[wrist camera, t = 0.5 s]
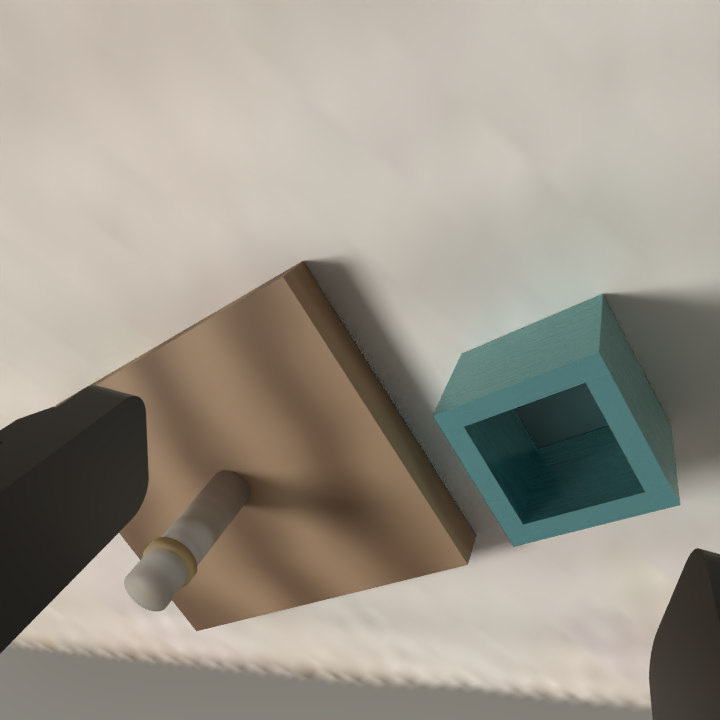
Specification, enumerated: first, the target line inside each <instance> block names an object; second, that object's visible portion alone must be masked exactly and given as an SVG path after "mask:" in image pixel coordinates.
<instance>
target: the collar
mask: <svg viewBox="0 0 720 720" xmlns="http://www.w3.org/2000/svg"><path fill="white" fill-rule="evenodd" d="M583 383H586V385H587V386H588V388H589V390H590V392H591V394H592V396H593V397H594V399H595V401H596V403H597V405H598V407H599V408H600V410H601V412H602V414H603V416H604V418H605V419H606V421H607V423H608V425H609V426H606V427H603V428H600V429H597V430H594V431H591V432H588V433H585V434H582V435H579V436H576V437H572V438H569V439H566V440H563V441H560V442H557V443H554V444H551V445H548V446H545V447H542V448H537V447H536V445H535V443H534V441H533V440H532V438H531V436H530V435H529V433H528V431H527V429H526V428H525V426H524V424H523V423H522V421H521V419H520V417H519V416H518V414H517V412H516V411H515V409H514V408H517V407H520V406H523V405H525V404H528V403H531V402H534V401H536V400H539V399H542V398H545V397H547V396H550V395H553V394H556V393H558V392H561V391H564V390H567V389H569V388H572V387H575V386H578V385H580V384H583ZM433 417H434V419H435V420H436V422H437V423H438V425H439V427H440V428H441V430H442V431H443V433H444V435H445V436H446V438H447V440H448V441H449V443H450V444H451V446H452V448H453V449H454V451H455V453H456V454H457V456H458V457H459V459H460V461H461V462H462V464H463V466H464V467H465V469H466V470H467V472H468V474H469V475H470V477H471V478H472V480H473V482H474V483H475V485H476V487H477V488H478V490H479V491H480V493H481V495H482V496H483V498H484V500H485V501H486V503H487V504H488V506H489V508H490V509H491V511H492V513H493V514H494V516H495V517H496V519H497V521H498V522H499V524H500V525H501V527H502V529H503V530H504V532H505V534H506V535H507V537H508V538H509V540H510V542H511V543H512V545H513V547H514V546H518V545H522V544H526V543H530V542H534V541H538V540H542V539H546V538H550V537H554V536H558V535H562V534H566V533H570V532H574V531H578V530H582V529H586V528H590V527H594V526H598V525H602V524H606V523H610V522H614V521H618V520H622V519H626V518H630V517H634V516H638V515H642V514H646V513H650V512H654V511H658V510H662V509H666V508H670V507H674V506H678V505H680V497H679V489H678V480H677V472H676V464H675V455H674V447H673V438H672V430H671V424H670V422H669V420H668V418H667V417H666V415H665V413H664V411H663V409H662V407H661V405H660V403H659V401H658V399H657V397H656V395H655V393H654V392H653V390H652V388H651V386H650V384H649V382H648V380H647V378H646V376H645V374H644V372H643V370H642V368H641V367H640V365H639V363H638V361H637V359H636V357H635V355H634V353H633V351H632V349H631V347H630V345H629V343H628V341H627V340H626V338H625V336H624V334H623V332H622V330H621V328H620V326H619V324H618V322H617V320H616V318H615V316H614V315H613V313H612V311H611V309H610V307H609V305H608V303H607V301H606V299H605V297H604V295H603V294H601V295H599V296H597V297H594V298H592V299H590V300H587V301H585V302H583V303H580V304H578V305H576V306H573V307H571V308H569V309H566V310H564V311H561V312H559V313H557V314H554V315H552V316H550V317H547V318H545V319H543V320H540V321H538V322H536V323H533V324H531V325H529V326H526V327H524V328H521V329H519V330H517V331H514V332H512V333H510V334H507V335H505V336H503V337H500V338H498V339H496V340H493V341H491V342H489V343H486V344H484V345H482V346H479V347H477V348H474V349H472V350H470V351H467V352H465V353H463V354H461V356H460V358H459V360H458V362H457V365H456V367H455V369H454V371H453V373H452V375H451V377H450V380H449V382H448V384H447V386H446V388H445V390H444V393H443V395H442V397H441V399H440V401H439V403H438V405H437V408H436V410H435V412H434V414H433Z"/></svg>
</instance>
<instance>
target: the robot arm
mask: <svg viewBox="0 0 720 720" xmlns="http://www.w3.org/2000/svg"><path fill="white" fill-rule="evenodd" d="M148 482H149V470H148V447H147V423H146V408H145V404H144V402H143V400H142V399H141V398H140V397H138V396H135V395H131V394H127V393H124V392H120V391H116V390H113V389H109V388H105V387H101V386H98V385H91V386H88V387H86V388H84V389H83V390H81V391H80V392H78V393H77V394H75V395H74V396H72V397H71V398H69V399H68V400H66V401H65V402H63V403H62V404H60V405H59V406H57V407H51V408H49V409H46V410H43V411H40V412H37V413H34V414H31V415H29V416H26V417H23V418H20V419H17V420H16V421H14V422H13V423H11V424H10V425H8V426H6V427H5V428H3V429H2V430H0V653H1V652H2V651H3V650H4V649H5V648H6V647H7V646H8V645H9V644H10V643H11V642H12V641H13V640H14V639H15V638H16V637H17V636H18V635H19V634H20V633H21V632H22V631H23V630H24V629H25V628H26V627H27V626H28V625H29V624H30V623H31V622H32V621H33V620H34V619H35V617H36V616H37V615H38V614H39V613H40V612H41V611H42V610H43V609H44V608H45V607H46V606H47V605H48V604H49V603H50V602H51V601H52V600H53V599H54V598H55V597H56V596H57V595H58V594H59V593H60V592H61V591H62V590H63V589H64V588H65V587H66V586H67V585H68V584H69V583H70V582H71V581H72V580H73V579H74V578H75V577H76V576H77V575H78V574H79V573H80V572H81V571H82V570H83V569H84V568H85V567H86V566H87V564H88V563H89V562H90V561H91V560H92V559H93V558H94V557H95V556H96V555H97V554H98V553H99V552H100V551H101V550H102V549H103V548H104V547H105V546H106V545H107V544H108V543H109V542H110V541H111V540H112V539H113V538H114V537H115V536H116V535H117V534H118V533H119V532H120V531H121V530H122V529H123V528H124V527H125V526H126V525H127V524H128V523H129V522H130V521H131V520H132V519H133V517H134V516H135V515H136V514H137V512H138V511H139V509H140V507H141V505H142V503H143V501H144V499H145V496H146V493H147V489H148ZM649 683H650V694H651V705H652V716H653V720H720V554H717V553H713V552H710V551H706V550H702V549H698V548H697V549H695V550H694V551H693V552H692V553H691V554H690V556H689V557H688V559H687V562H686V564H685V566H684V569H683V571H682V573H681V576H680V578H679V580H678V583H677V585H676V588H675V590H674V592H673V595H672V597H671V599H670V602H669V604H668V607H667V609H666V611H665V614H664V616H663V618H662V621H661V623H660V625H659V628H658V630H657V633H656V636H655V639H654V643H653V647H652V652H651V659H650V669H649Z"/></svg>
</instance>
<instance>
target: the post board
mask: <svg viewBox="0 0 720 720" xmlns="http://www.w3.org/2000/svg"><path fill="white" fill-rule="evenodd" d="M91 385H98V386H101V387H105V388H109V389H113V390H116V391H120V392H124V393H127V394H131V395H135V396H138V397H140V398H141V399H142V400H143V402H144V404H145V408H146V423H147V447H148V470H149V482H148V489H147V493H146V496H145V499H144V501H143V503H142V505H141V507H140V509H139V511H138V512H137V514H136V515H135V516H134V517H133V519H132V520H131V521H130V522H129V523H128V524H127V525H126V526H125V527H124V528H123V529H122V530H121V531H120V532H119V533H120V535H121V536H122V537H123V538H124V540H125V541H126V542H127V543H128V545H129V546H130V547H131V549H132V550H133V551H134V552H135V554H136V555H137V556H138V557H139V559H140V561H139V563H138V564H137V565H136V566H135V567H134V568H133V569H132V571H131V572H130V573H129V574H128V575H127V576H126V578H125V581H124V585H125V588H126V591H127V593H128V594H129V596H130V597H131V598H132V599H133V600H134V601H135V602H136V603H137V604H138V605H140V606H141V607H143V608H145V609H148V610H151V611H162V610H164V609H165V608H166V607H167V605H168V604H169V603H170V602H171V600H172V601H173V602H174V603H175V604H176V606H177V607H178V608H179V610H180V611H181V612H182V613H183V615H184V616H185V617H186V618H187V620H188V621H189V622H190V624H191V625H192V626H193V627H194V629H195V630H196V631H199V630H203V629H207V628H211V627H215V626H219V625H223V624H228V623H232V622H236V621H240V620H244V619H248V618H252V617H256V616H260V615H264V614H268V613H272V612H277V611H281V610H285V609H289V608H293V607H297V606H301V605H305V604H309V603H313V602H317V601H322V600H326V599H330V598H334V597H338V596H342V595H346V594H350V593H354V592H358V591H362V590H366V589H371V588H375V587H379V586H383V585H387V584H391V583H395V582H399V581H403V580H407V579H411V578H416V577H420V576H424V575H428V574H432V573H436V572H440V571H444V570H448V569H452V568H456V567H460V566H465V565H468V562H469V558H470V555H471V551H472V548H473V544H474V540H475V537H476V534H475V533H474V531H473V530H472V528H471V527H470V525H469V523H468V522H467V520H466V519H465V517H464V515H463V514H462V512H461V511H460V509H459V508H458V506H457V504H456V503H455V501H454V500H453V498H452V496H451V495H450V493H449V492H448V490H447V488H446V487H445V485H444V484H443V482H442V481H441V479H440V477H439V476H438V474H437V473H436V471H435V469H434V468H433V466H432V465H431V463H430V462H429V460H428V458H427V457H426V455H425V454H424V452H423V450H422V449H421V447H420V446H419V444H418V442H417V441H416V439H415V438H414V436H413V435H412V433H411V431H410V430H409V428H408V427H407V425H406V423H405V422H404V420H403V419H402V417H401V416H400V414H399V412H398V411H397V409H396V408H395V406H394V404H393V403H392V401H391V400H390V398H389V396H388V395H387V393H386V392H385V390H384V389H383V387H382V385H381V384H380V382H379V381H378V379H377V377H376V376H375V374H374V373H373V371H372V370H371V368H370V366H369V365H368V363H367V362H366V360H365V358H364V357H363V355H362V354H361V352H360V350H359V349H358V347H357V346H356V344H355V343H354V341H353V339H352V338H351V336H350V335H349V333H348V331H347V330H346V328H345V327H344V325H343V324H342V322H341V320H340V319H339V317H338V316H337V314H336V312H335V311H334V309H333V308H332V306H331V304H330V303H329V301H328V300H327V298H326V297H325V295H324V293H323V292H322V290H321V289H320V287H319V285H318V284H317V282H316V281H315V279H314V278H313V276H312V274H311V273H310V271H309V270H308V268H307V266H306V265H305V263H304V262H303V261H302V262H301V263H299V264H297V265H295V266H294V267H292V268H290V269H289V270H287V271H285V272H283V273H282V274H280V275H278V276H277V277H275V278H273V279H271V280H270V281H268V282H266V283H265V284H263V285H261V286H259V287H258V288H256V289H254V290H253V291H251V292H249V293H247V294H246V295H244V296H242V297H241V298H239V299H237V300H235V301H234V302H232V303H230V304H229V305H227V306H225V307H223V308H222V309H220V310H218V311H217V312H215V313H213V314H211V315H210V316H208V317H206V318H205V319H203V320H201V321H199V322H198V323H196V324H194V325H193V326H191V327H189V328H187V329H186V330H184V331H182V332H181V333H179V334H177V335H175V336H174V337H172V338H170V339H169V340H167V341H165V342H163V343H162V344H160V345H158V346H157V347H155V348H153V349H151V350H150V351H148V352H146V353H145V354H143V355H141V356H139V357H138V358H136V359H134V360H133V361H131V362H129V363H127V364H126V365H124V366H122V367H121V368H119V369H117V370H115V371H114V372H112V373H110V374H109V375H107V376H105V377H103V378H102V379H100V380H98V381H97V382H95V383H93V384H91ZM91 385H90V386H91ZM79 392H80V391H79ZM76 394H77V393H76ZM74 395H75V394H74ZM74 395H73V396H74ZM71 397H72V396H71ZM71 397H69V398H71ZM69 398H67V399H66V400H68V399H69ZM66 400H64V401H62V402H61V403H59V404H57V405H56V406H55V407H57V406H59V405H60V404H62V403H63V402H65V401H66Z"/></svg>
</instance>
